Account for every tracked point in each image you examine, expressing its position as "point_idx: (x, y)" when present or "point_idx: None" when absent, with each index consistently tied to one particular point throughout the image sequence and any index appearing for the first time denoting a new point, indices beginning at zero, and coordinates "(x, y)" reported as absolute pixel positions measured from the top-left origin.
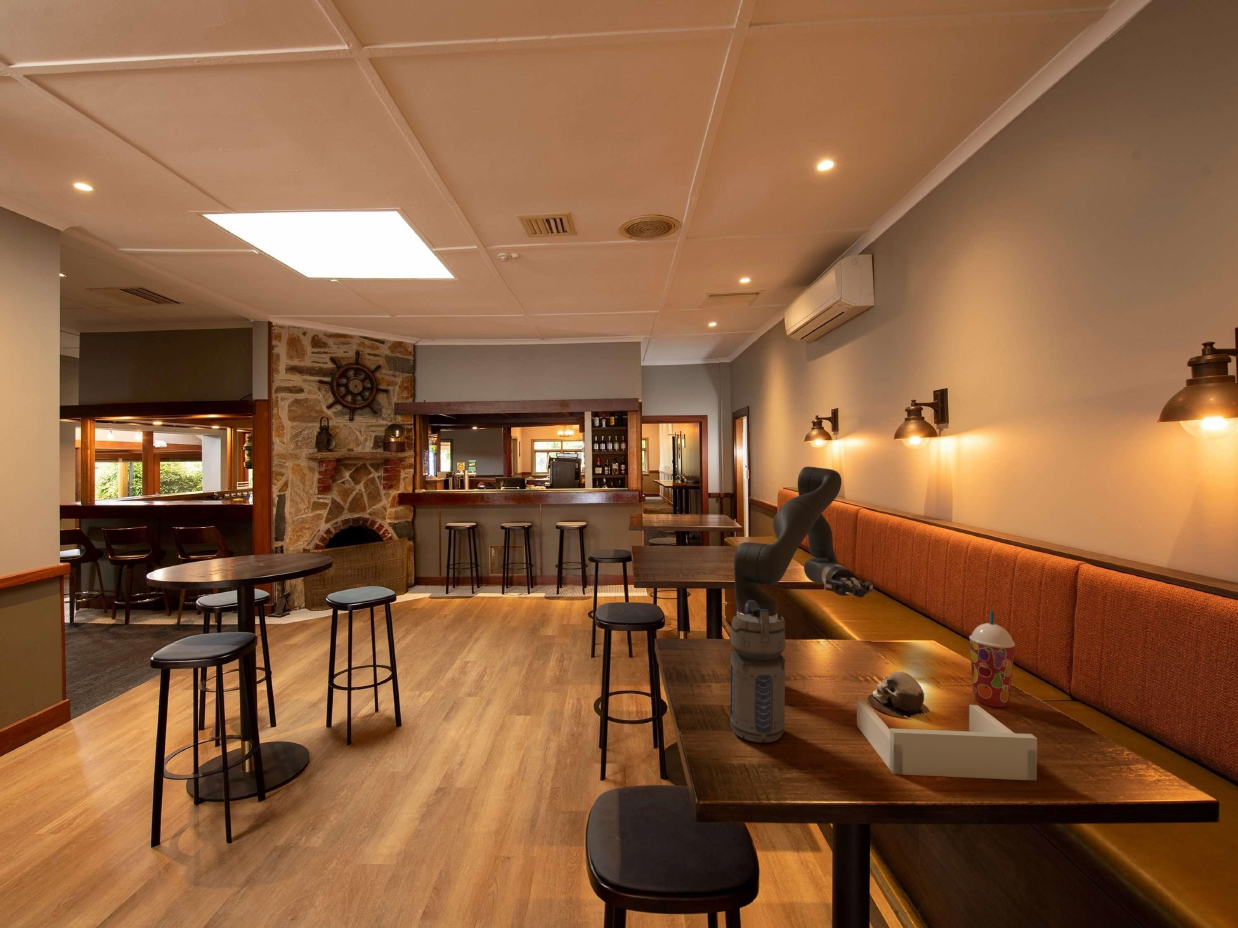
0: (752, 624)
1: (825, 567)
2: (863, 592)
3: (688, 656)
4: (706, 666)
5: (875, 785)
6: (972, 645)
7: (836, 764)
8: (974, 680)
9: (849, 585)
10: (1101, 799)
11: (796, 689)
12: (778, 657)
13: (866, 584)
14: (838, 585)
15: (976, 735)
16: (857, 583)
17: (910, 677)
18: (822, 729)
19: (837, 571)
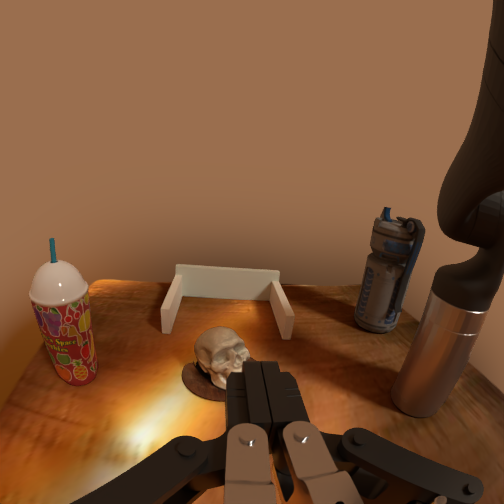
0: (393, 221)
1: None
2: (241, 371)
3: None
4: (489, 422)
5: (289, 292)
6: (85, 303)
7: (311, 303)
8: (92, 353)
9: (316, 430)
10: (154, 282)
11: (365, 401)
12: (373, 255)
13: (161, 456)
14: (387, 486)
15: (219, 267)
16: (236, 482)
17: (213, 328)
18: (323, 332)
19: None
